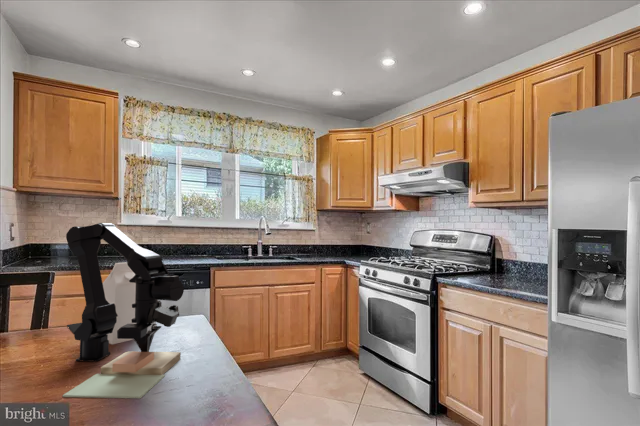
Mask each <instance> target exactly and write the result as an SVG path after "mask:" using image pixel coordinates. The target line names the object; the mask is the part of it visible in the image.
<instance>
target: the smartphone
mask: <svg viewBox="0 0 640 426" xmlns="http://www.w3.org/2000/svg"><path fill="white" fill-rule="evenodd" d="M81 324H82V322H75V323H70V324H67V325H66V327H67V328H68V327H69V328H68V329H69V330H70V332H71V333H72V334H73V335H74V332H75V331H76V329H77V328H78V327H79V326H80V325H81Z"/></svg>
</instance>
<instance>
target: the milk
mask: <svg viewBox="0 0 640 426" xmlns="http://www.w3.org/2000/svg"><path fill="white" fill-rule="evenodd" d="M134 276H135V273H134V272H133V271H132V270H131V269H130V268H129V266H128V264H127V261H126V262H115V263H114V265H113V268H112V270H111V271H110V273H109V274H108V276H106V278H105V279H104V281H102V283H103V288H104V293H105V298H106V300H107V301H108V302H109V303H110V304H113V303H114V304H115V307H116V313H117V315H118V316H117V317H116V318H117V321H116V323H115V325H114V329H113V332H112V333H109V334H106V335H108V340H109V345H116V344H119V343H121V344H122V343H123V342H124V343H125V342H128V341H132V340H133V341H134V339H118V338H117V331H118V330H119V329H120V328H121V327H122V326H124V325H126V324H136V323H132V319H133V318H135V308H132V304H134V303H135V292H136V283H131V282H129V280H130V279H131V278H133V277H134Z"/></svg>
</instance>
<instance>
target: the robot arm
mask: <svg viewBox="0 0 640 426" xmlns="http://www.w3.org/2000/svg"><path fill="white" fill-rule="evenodd" d="M65 237H66V241H67V245H68V248H69V250H70V251H71V252H72V253H73V254H74V255H75V256H76V257H77V262H78V267H79V272H80V279H81V283H82V290H83V294H84V300H85V307H84V309H83V311H82V313H81V323H82V324H81V325H80V326H79V327H78V328H77V329H76V331H75V332H74V334H73V335H74V340H76V341H79V357H77V358H76V359H75V361H76V362H98V361H100V360H102V359H104V358H105V357H108V356H109V355H110V354H111V351H109V345H110V343H109V340H108V335H106V334H109V333H112V332H113V329H114V325H115V323H116V321H117V318H116V317H117V316H118V315H117V313H116V307H115V304H114V303H113V304H110V303H109V302H108V301H107V300H106V298H105V293H104V288H103V277H102V274H101V269H100V263H99V258H98V252H99V251H100V250H99V249H100V247H101V244H102V240H103V241H104V242H105V243H106V244H108V245H109V246H110V247H112V248H113V249H114V250H115V251H116V252H117V253H119V254H120V255H121V256H123V258H124V259H125V260H126V262H127V264H128V266H129V268H130V269H131V270H132V271H133V272H134V273H135V276H134V277H133V278H131V279H130V280H129V282H131V283H136V292H135V303H134V304H132V308H135V318H133V319H132V323H136V324H126V325H124V326H122V327H121V328H120V329H119V330H118V331H117V338H118V339H133V341H135V343H136V344H137V347H138V348H139V350H140V352H150V348H151V346H152V342H153V340H154V337H155V334H156V333H157V332H158V331H159V330H160V329H162V326H161V325H163V326H164V327H167V328H170V327H172V325H175V324H176V321H177V319H178V318H179V317H180V311H179V305H176V304H171V306H169V307H168V306H165V307H164V306H163V305H162V301H166V302H167V301H169V302H178V301H180V300H181V298H182V296H183V295H184V290H185V287H184V284H183V282H182V281H181V280H180V276H179V275H171V274H170V273H169V270H168V269H167V267H166V265H165V263H164V262H163V258H162V256H161V255H160V254H158V253H156V252H154V251H152V250H149V249H147V248H144V247H142V246H140V245H139V244H137V243H136V242H135V241H134V240H132V239H131V238H130V237H129V236H128V235H126V234H125V233H124V232H122V230H120V229H119V228H118V227H117V226H116V225H115V224H114V223H111V222H98V223H95V224H92V225H86V226H83V225H82V226H79V225H78V226H72V227H70V228H69V230H68V231H67V232H66V235H65ZM158 324H160V325H158Z"/></svg>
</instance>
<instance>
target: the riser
mask: <svg viewBox="0 0 640 426" xmlns="http://www.w3.org/2000/svg"><path fill="white" fill-rule="evenodd" d="M131 352H133V351H132V350H131V351H130V350H129V351H125V352H124V353H121V354H120V355H119V356H117V357H115V358H114V359H113V360H110V361H109V362H107V363H106V364H104V365H102V366H101V367H100V374H135V375H165V373H166V372H168V371H169V370H170V369H171V368H172V367H174V365H176V363H178V362H179V361H180V360H181V351H153V352H154V360H152V361H151V362H149V363H148V364H146V365H145V366H144V367H142V368H141V369H139V370H138V371H137V372H112V365H113V363H115V362H116V361H118V360H120V359H121V358H123V357H125V356H126V355H128V354H130V353H131ZM136 352H139V351H138V350H137V351H136Z"/></svg>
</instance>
